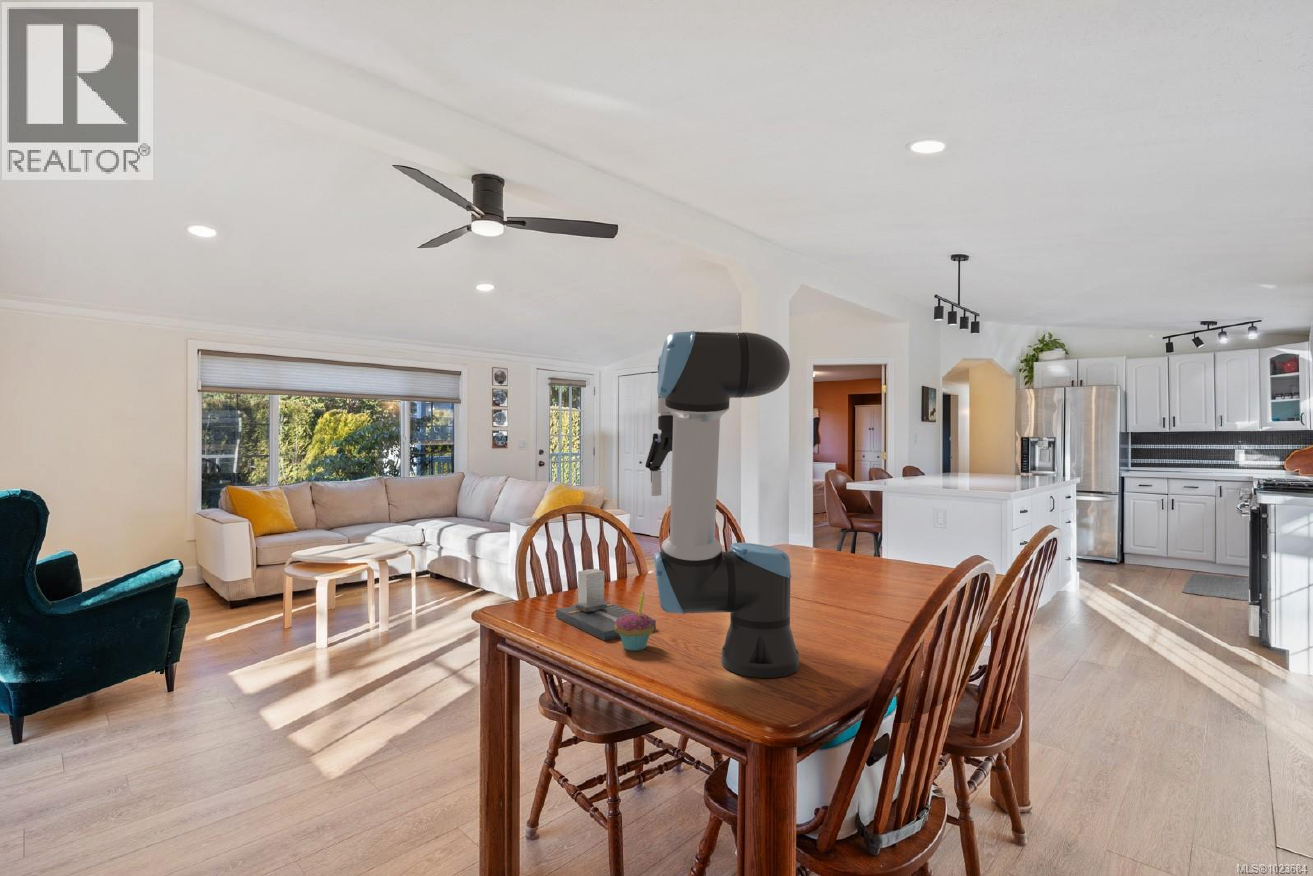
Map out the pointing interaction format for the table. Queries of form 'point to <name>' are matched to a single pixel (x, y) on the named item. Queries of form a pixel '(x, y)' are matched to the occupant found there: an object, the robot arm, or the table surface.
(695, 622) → the table surface
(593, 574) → the block
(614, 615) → the board
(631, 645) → the cupcake
